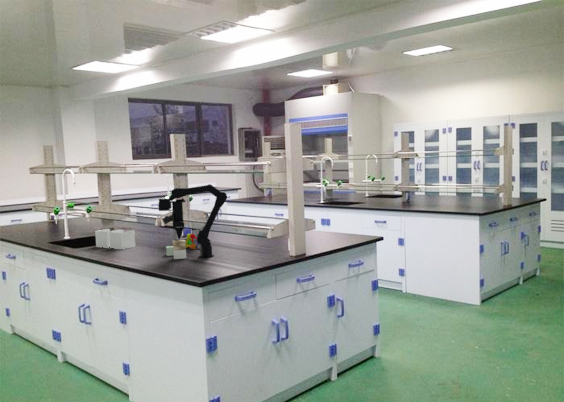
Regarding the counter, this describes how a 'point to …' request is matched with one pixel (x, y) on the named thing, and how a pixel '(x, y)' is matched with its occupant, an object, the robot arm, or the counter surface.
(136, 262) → the counter surface
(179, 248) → the maple block
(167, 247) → the sage block
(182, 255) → the offwhite block
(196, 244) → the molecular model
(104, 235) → the storage container
